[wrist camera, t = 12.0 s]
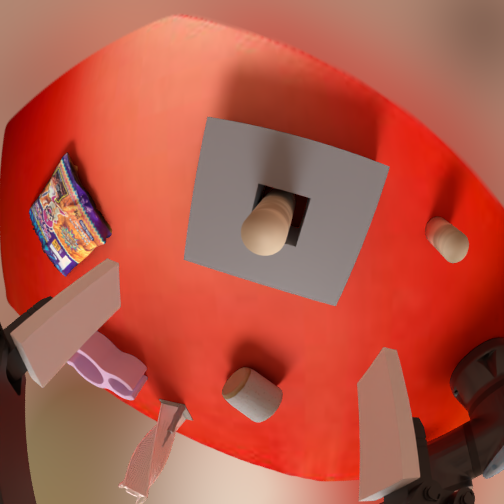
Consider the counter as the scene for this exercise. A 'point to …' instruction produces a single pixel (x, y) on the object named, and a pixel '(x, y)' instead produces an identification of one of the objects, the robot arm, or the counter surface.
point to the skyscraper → (154, 450)
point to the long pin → (269, 223)
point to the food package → (67, 219)
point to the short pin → (447, 239)
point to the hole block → (288, 179)
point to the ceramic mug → (252, 394)
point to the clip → (109, 367)
